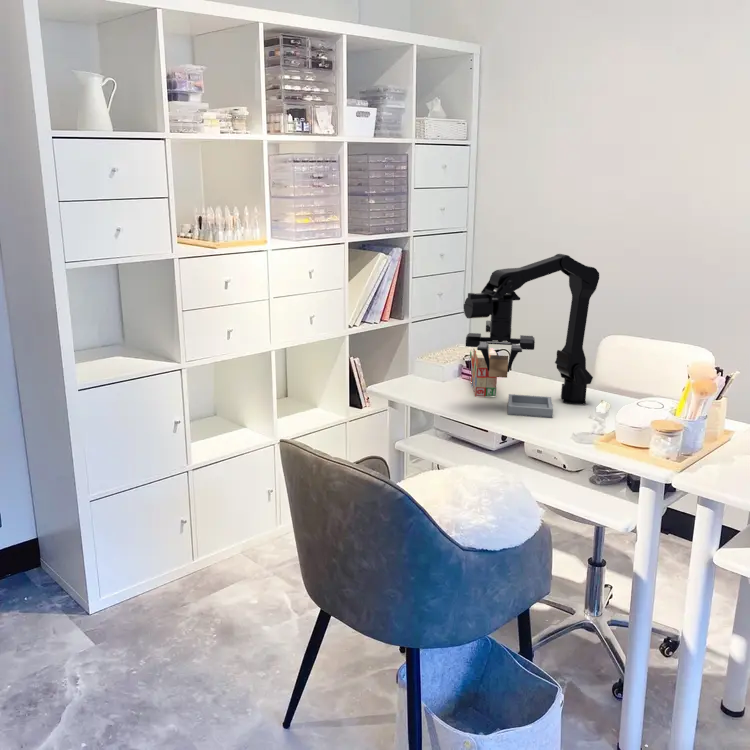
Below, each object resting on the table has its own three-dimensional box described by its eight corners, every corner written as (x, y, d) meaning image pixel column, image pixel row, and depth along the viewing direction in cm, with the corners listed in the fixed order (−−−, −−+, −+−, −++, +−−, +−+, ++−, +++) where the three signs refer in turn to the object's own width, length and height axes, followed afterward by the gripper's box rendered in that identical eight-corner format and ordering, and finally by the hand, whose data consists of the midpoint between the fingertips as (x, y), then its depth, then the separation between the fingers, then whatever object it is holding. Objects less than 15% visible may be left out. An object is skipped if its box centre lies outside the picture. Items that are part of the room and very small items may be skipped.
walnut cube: (507, 373, 219) (508, 355, 217) (507, 377, 214) (508, 360, 213) (489, 372, 220) (490, 355, 218) (488, 376, 215) (489, 359, 213)
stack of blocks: (468, 378, 250) (470, 340, 247) (488, 378, 250) (490, 341, 247) (475, 397, 229) (477, 356, 226) (496, 397, 229) (498, 357, 226)
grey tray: (550, 405, 222) (551, 396, 222) (552, 418, 211) (552, 409, 210) (508, 402, 224) (508, 394, 224) (507, 414, 213) (508, 406, 212)
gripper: (535, 312, 218) (532, 365, 222) (469, 309, 222) (467, 362, 226) (536, 320, 208) (532, 375, 212) (466, 317, 211) (464, 372, 215)
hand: (498, 371), depth 216 cm, fingers closed on walnut cube, 5 cm apart
